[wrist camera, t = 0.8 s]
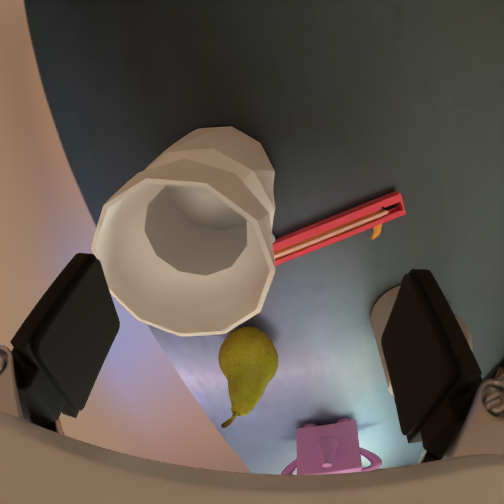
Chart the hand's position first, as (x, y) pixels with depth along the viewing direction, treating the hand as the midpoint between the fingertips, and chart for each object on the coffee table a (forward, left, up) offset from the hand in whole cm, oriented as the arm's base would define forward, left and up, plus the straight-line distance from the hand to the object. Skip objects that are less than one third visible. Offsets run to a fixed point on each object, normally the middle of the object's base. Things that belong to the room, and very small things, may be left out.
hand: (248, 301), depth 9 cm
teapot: (+43, +3, -17) cm, 46 cm away
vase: (+1, -4, -16) cm, 17 cm away
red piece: (+5, -2, -16) cm, 17 cm away
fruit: (+18, -5, -17) cm, 25 cm away
